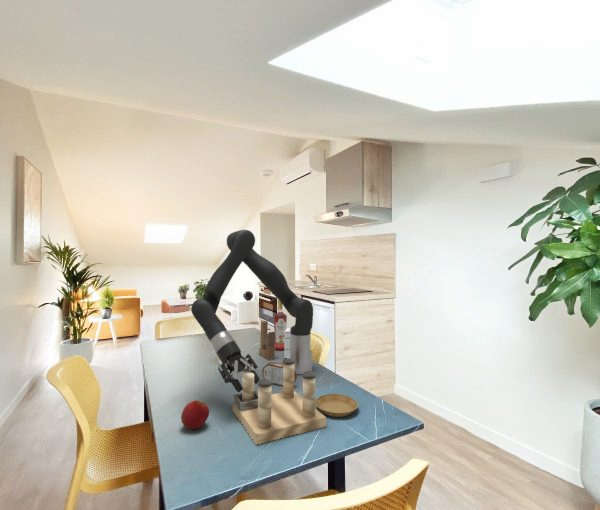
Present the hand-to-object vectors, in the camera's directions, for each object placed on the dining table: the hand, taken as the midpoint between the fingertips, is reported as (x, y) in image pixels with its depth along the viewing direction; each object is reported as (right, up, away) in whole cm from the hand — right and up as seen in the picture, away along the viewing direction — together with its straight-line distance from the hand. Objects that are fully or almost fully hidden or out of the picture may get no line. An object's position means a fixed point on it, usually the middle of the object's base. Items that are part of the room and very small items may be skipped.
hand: (249, 386), depth 113 cm
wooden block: (0, -9, +62) cm, 63 cm away
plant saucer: (+29, -10, +4) cm, 31 cm away
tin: (+8, -9, +26) cm, 29 cm away
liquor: (+6, -9, +76) cm, 77 cm away
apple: (-16, -9, -9) cm, 20 cm away
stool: (+9, -9, -3) cm, 14 cm away
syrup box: (+12, -9, +62) cm, 63 cm away
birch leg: (-1, -6, 0) cm, 6 cm away
